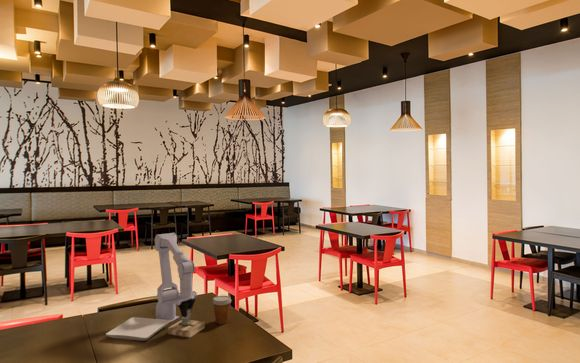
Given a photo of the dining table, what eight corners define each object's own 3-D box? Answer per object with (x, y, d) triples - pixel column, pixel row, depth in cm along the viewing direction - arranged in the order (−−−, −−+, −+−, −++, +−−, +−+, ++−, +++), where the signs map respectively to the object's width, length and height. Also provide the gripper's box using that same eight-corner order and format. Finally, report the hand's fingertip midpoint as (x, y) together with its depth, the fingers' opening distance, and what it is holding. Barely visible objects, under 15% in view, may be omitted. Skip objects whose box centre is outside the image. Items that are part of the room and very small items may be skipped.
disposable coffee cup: (233, 318, 201) (233, 295, 201) (228, 325, 192) (228, 301, 192) (215, 318, 202) (215, 295, 202) (210, 325, 193) (209, 300, 193)
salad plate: (147, 344, 172) (147, 337, 171) (104, 341, 176) (104, 333, 176) (171, 326, 192) (171, 319, 192) (132, 323, 197) (132, 316, 196)
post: (181, 324, 185) (181, 309, 185) (185, 322, 188) (185, 307, 187) (187, 325, 184) (187, 310, 184) (191, 323, 186) (191, 308, 186)
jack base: (168, 334, 182) (168, 326, 182) (183, 324, 193) (183, 317, 193) (190, 337, 178) (189, 330, 178) (204, 328, 189) (204, 320, 189)
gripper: (184, 292, 177) (184, 321, 177) (201, 283, 191) (202, 311, 191) (171, 290, 180) (171, 320, 180) (189, 282, 193) (189, 309, 193)
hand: (186, 315), depth 186 cm, fingers closed on post, 3 cm apart
